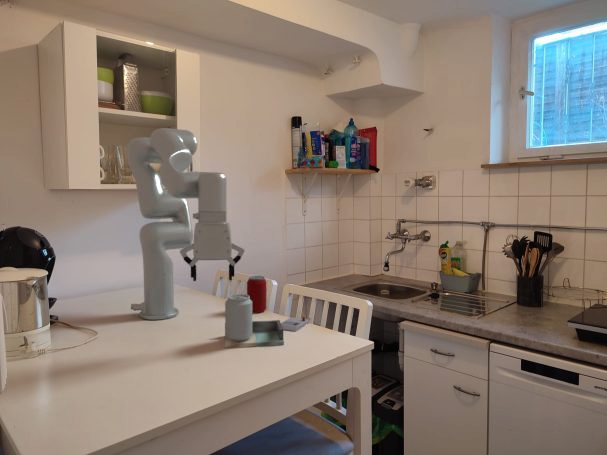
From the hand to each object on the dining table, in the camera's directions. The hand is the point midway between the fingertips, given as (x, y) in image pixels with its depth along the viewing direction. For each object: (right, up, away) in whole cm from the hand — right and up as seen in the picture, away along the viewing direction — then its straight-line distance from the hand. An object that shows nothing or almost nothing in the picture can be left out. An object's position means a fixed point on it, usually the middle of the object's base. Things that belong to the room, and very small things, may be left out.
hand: (212, 279), depth 123 cm
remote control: (+22, -17, +18) cm, 34 cm away
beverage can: (+9, -15, +34) cm, 38 cm away
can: (+7, -17, +3) cm, 18 cm away
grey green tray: (+11, -18, +4) cm, 21 cm away
